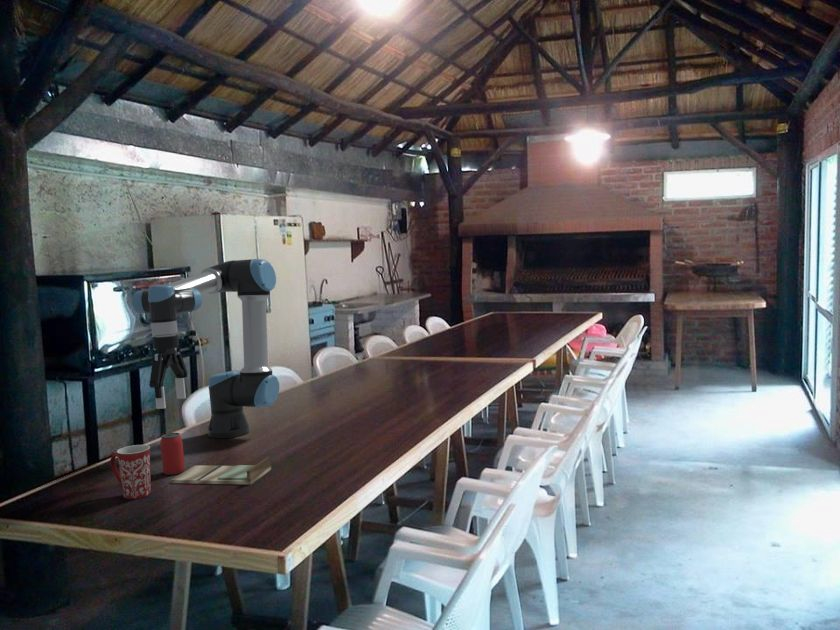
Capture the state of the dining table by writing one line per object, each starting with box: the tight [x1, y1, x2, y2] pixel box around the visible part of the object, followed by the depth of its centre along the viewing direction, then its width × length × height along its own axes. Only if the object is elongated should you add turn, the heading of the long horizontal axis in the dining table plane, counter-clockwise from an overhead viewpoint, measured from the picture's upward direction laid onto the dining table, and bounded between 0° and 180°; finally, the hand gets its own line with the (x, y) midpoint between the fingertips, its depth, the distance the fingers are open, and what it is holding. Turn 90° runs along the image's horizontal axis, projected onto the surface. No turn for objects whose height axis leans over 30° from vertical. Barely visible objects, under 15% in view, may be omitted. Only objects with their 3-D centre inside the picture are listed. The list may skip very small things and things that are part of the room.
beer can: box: [159, 432, 186, 476], centre depth 228 cm, size 7×7×12 cm
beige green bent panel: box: [170, 456, 272, 486], centre depth 222 cm, size 26×14×4 cm, turn 77°
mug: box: [109, 444, 152, 500], centre depth 209 cm, size 13×9×14 cm
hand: (171, 403), depth 226 cm, fingers open, 13 cm apart
